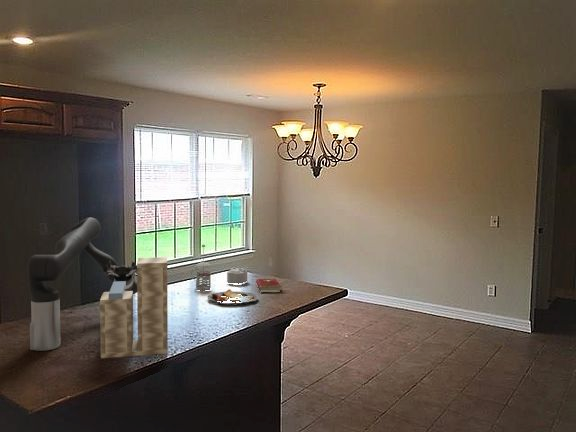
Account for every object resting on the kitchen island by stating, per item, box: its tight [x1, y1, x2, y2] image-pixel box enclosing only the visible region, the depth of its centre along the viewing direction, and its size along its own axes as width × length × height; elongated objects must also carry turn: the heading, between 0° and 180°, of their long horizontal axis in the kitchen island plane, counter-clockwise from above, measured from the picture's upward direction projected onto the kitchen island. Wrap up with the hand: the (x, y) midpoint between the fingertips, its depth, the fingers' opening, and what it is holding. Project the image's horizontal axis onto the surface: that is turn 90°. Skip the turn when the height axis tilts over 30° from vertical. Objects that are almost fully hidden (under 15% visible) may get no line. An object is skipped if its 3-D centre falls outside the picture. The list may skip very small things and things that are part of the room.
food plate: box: [207, 289, 259, 305], centre depth 252 cm, size 25×23×4 cm
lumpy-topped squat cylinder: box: [226, 267, 248, 284], centre depth 294 cm, size 10×13×9 cm
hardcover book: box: [255, 278, 282, 291], centre depth 281 cm, size 12×21×4 cm, turn 9°
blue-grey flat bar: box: [108, 281, 126, 299], centre depth 179 cm, size 4×20×2 cm, turn 15°
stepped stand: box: [99, 256, 169, 359], centre depth 177 cm, size 22×12×32 cm, turn 104°
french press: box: [190, 244, 212, 291], centre depth 274 cm, size 10×12×25 cm
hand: (121, 263), depth 195 cm, fingers open, 8 cm apart
